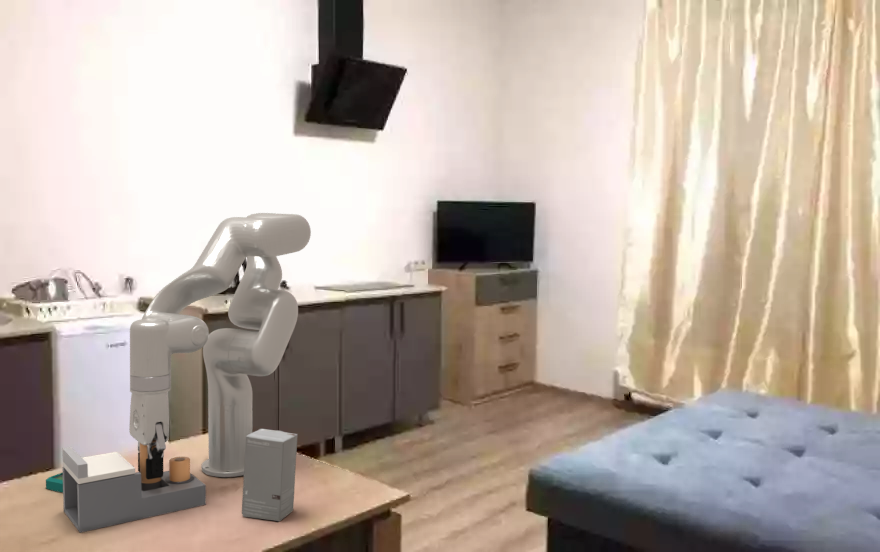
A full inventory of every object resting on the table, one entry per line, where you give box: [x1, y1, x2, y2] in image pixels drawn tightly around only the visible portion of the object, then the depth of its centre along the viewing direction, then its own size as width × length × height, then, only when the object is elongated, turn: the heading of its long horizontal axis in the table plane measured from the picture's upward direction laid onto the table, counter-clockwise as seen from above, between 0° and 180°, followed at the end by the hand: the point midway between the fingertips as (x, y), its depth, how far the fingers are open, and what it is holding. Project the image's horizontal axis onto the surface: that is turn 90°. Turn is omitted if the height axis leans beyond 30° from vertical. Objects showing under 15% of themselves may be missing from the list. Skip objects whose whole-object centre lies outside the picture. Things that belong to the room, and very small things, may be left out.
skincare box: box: [241, 428, 298, 522], centre depth 156 cm, size 8×7×16 cm
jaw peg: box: [140, 439, 161, 484], centre depth 159 cm, size 4×4×8 cm
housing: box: [62, 456, 207, 533], centre depth 157 cm, size 24×12×9 cm, turn 128°
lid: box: [61, 446, 136, 484], centre depth 153 cm, size 10×12×4 cm
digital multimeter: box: [45, 471, 63, 494], centre depth 172 cm, size 7×15×3 cm, turn 158°
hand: (150, 473), depth 159 cm, fingers closed on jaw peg, 4 cm apart
